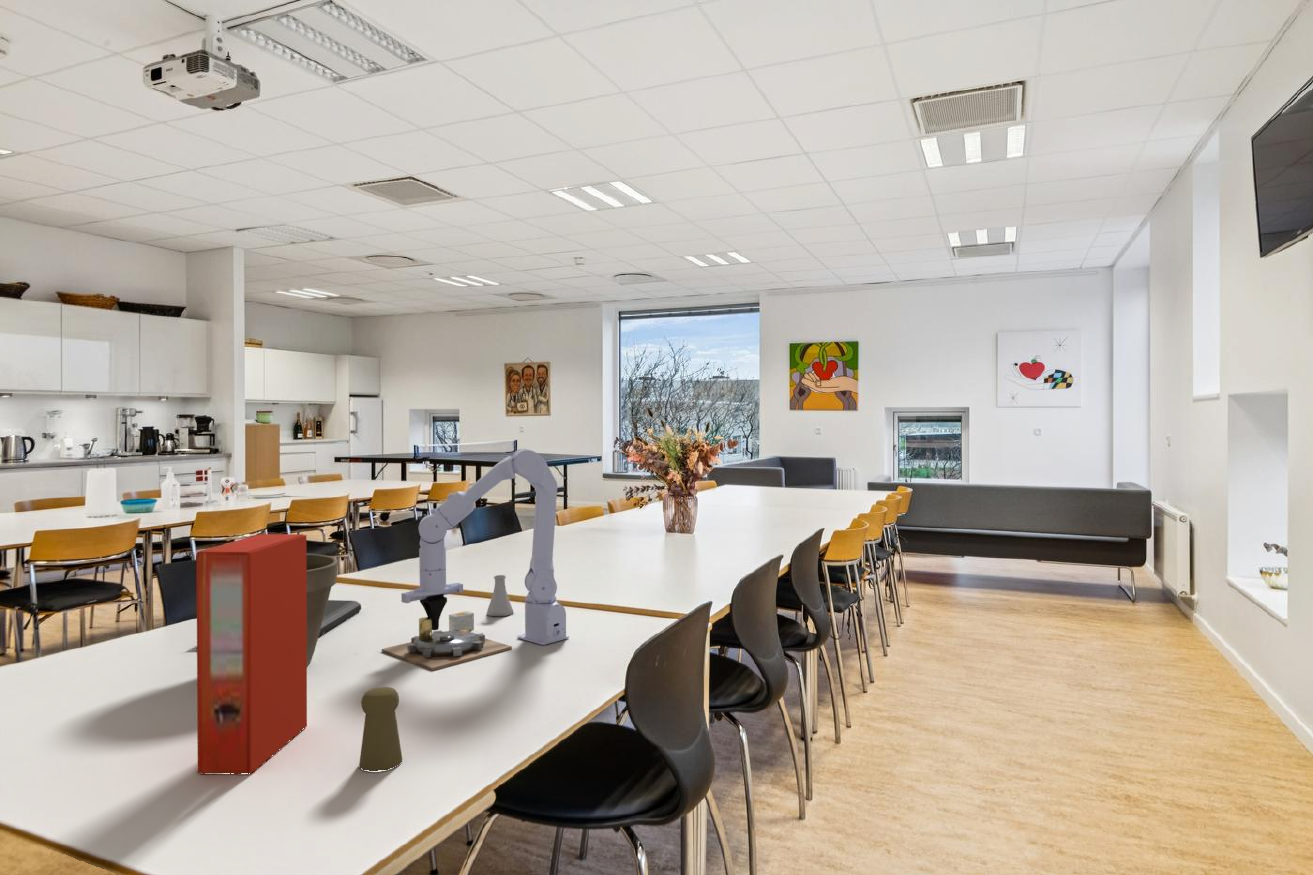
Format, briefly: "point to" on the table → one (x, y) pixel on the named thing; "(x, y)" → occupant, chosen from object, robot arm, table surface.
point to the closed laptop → (338, 613)
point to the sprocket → (443, 641)
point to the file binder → (250, 650)
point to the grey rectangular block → (461, 621)
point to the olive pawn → (380, 730)
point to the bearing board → (447, 660)
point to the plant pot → (318, 595)
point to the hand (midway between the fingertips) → (433, 629)
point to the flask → (499, 599)
